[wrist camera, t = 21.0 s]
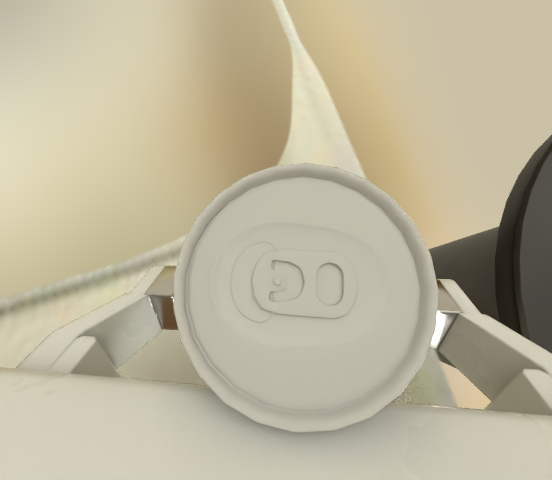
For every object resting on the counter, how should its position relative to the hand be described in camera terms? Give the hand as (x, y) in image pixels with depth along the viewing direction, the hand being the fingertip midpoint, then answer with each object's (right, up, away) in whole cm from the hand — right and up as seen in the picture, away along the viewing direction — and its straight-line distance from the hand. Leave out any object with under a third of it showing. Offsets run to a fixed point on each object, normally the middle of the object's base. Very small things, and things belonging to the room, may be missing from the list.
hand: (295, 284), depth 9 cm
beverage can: (0, -2, +7) cm, 7 cm away
